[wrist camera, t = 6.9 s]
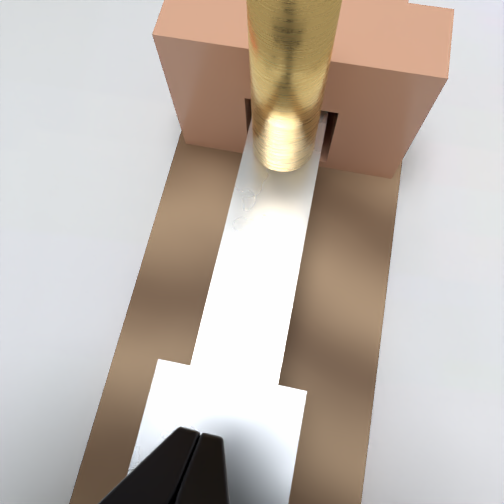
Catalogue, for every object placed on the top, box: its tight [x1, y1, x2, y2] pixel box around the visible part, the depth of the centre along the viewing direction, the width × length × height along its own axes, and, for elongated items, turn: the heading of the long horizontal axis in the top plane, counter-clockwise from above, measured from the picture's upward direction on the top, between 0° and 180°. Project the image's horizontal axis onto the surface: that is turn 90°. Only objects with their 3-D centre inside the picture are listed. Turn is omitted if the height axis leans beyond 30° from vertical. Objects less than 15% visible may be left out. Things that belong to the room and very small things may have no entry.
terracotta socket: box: [152, 0, 454, 179], centre depth 19 cm, size 5×10×7 cm, turn 78°
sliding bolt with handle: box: [190, 0, 342, 385], centre depth 14 cm, size 14×3×11 cm, turn 168°
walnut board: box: [69, 131, 402, 504], centre depth 20 cm, size 28×11×1 cm, turn 168°
